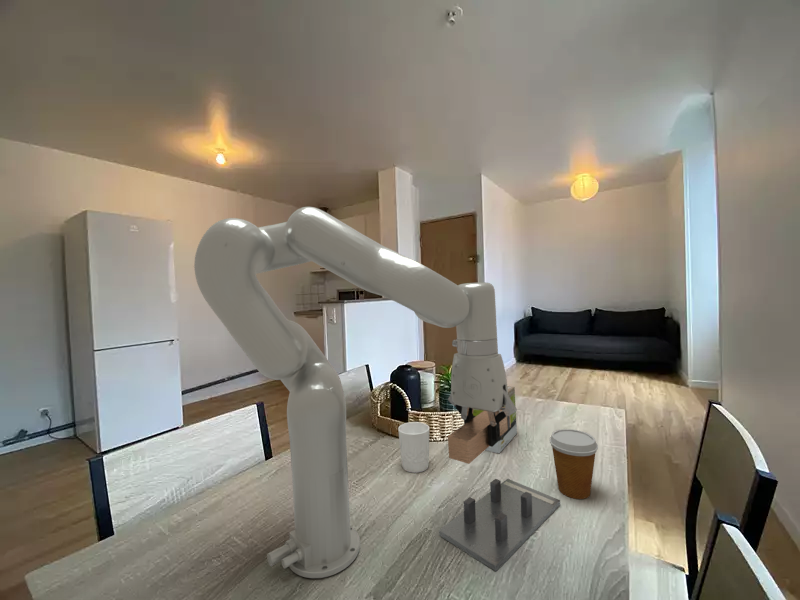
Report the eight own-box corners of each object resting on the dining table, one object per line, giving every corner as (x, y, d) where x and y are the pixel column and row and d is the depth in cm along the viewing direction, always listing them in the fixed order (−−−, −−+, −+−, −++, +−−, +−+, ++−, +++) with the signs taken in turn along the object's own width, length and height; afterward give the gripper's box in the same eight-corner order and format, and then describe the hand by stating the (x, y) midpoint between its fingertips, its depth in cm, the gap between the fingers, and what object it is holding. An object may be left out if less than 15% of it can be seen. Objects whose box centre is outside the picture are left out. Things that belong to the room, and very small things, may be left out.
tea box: (486, 427, 114) (484, 381, 114) (517, 434, 108) (516, 386, 108) (465, 446, 102) (463, 394, 101) (499, 455, 96) (498, 400, 96)
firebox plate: (495, 571, 58) (495, 541, 57) (439, 535, 66) (438, 509, 66) (560, 504, 74) (559, 481, 74) (507, 482, 83) (507, 461, 83)
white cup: (428, 475, 87) (427, 434, 87) (397, 473, 89) (395, 433, 89) (432, 459, 95) (431, 422, 95) (403, 457, 97) (401, 421, 96)
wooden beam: (469, 464, 62) (468, 440, 61) (448, 457, 64) (447, 435, 64) (510, 427, 75) (509, 407, 75) (492, 423, 78) (491, 404, 78)
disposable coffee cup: (597, 509, 72) (596, 450, 72) (546, 496, 77) (545, 441, 77) (600, 485, 80) (599, 432, 80) (554, 475, 85) (553, 425, 85)
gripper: (430, 347, 71) (435, 438, 72) (512, 354, 61) (517, 460, 61) (450, 341, 77) (454, 425, 78) (528, 346, 66) (532, 443, 67)
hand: (482, 439), depth 70 cm, fingers closed on wooden beam, 4 cm apart
